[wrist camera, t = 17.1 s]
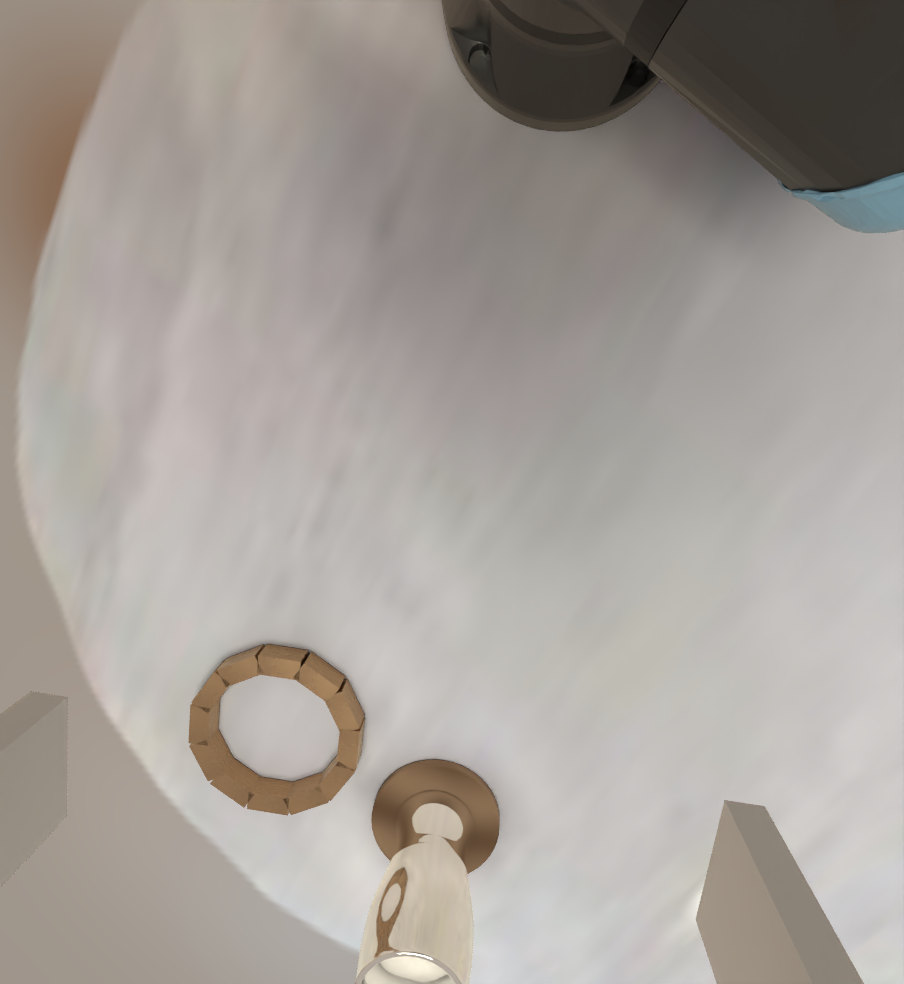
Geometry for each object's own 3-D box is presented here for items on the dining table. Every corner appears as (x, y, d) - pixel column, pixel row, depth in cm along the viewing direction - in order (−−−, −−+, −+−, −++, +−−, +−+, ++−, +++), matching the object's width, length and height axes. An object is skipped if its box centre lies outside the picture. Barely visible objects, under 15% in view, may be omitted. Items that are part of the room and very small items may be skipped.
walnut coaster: (380, 750, 55) (378, 757, 54) (507, 770, 54) (507, 778, 53) (367, 859, 57) (365, 868, 56) (489, 879, 57) (489, 889, 56)
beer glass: (377, 840, 55) (330, 1019, 41) (412, 770, 54) (378, 930, 39) (456, 876, 56) (439, 1068, 41) (494, 808, 54) (490, 981, 39)
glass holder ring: (204, 634, 54) (193, 645, 52) (371, 659, 53) (366, 671, 51) (196, 783, 57) (185, 798, 55) (355, 808, 56) (349, 825, 54)
